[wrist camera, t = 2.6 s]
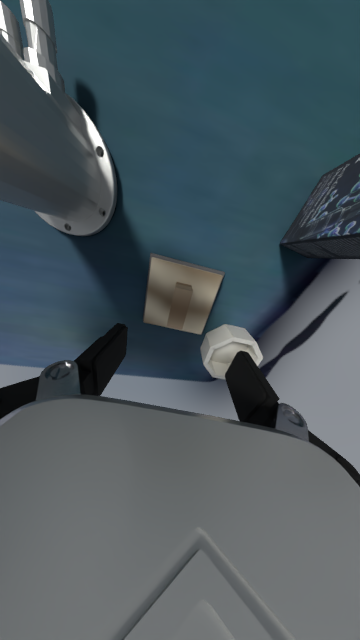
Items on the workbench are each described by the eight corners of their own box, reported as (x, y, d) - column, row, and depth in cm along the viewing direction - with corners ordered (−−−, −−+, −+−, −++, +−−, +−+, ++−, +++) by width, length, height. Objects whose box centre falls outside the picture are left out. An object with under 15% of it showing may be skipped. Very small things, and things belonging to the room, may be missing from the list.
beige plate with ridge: (153, 257, 19) (143, 257, 15) (220, 274, 20) (231, 280, 16) (145, 319, 24) (136, 334, 20) (200, 331, 25) (204, 348, 21)
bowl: (211, 320, 25) (216, 333, 21) (258, 331, 26) (272, 345, 22) (196, 358, 29) (198, 374, 25) (236, 366, 30) (245, 383, 26)
